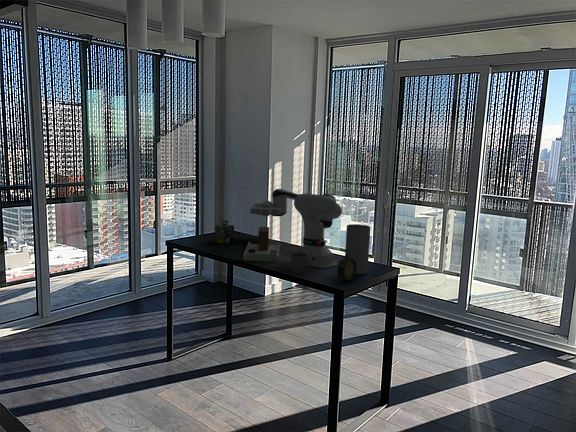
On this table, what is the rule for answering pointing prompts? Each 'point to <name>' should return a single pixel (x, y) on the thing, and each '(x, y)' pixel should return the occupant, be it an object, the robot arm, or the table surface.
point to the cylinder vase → (358, 246)
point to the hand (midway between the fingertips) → (265, 212)
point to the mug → (300, 262)
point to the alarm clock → (346, 268)
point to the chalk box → (224, 233)
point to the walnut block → (263, 238)
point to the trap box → (261, 253)
